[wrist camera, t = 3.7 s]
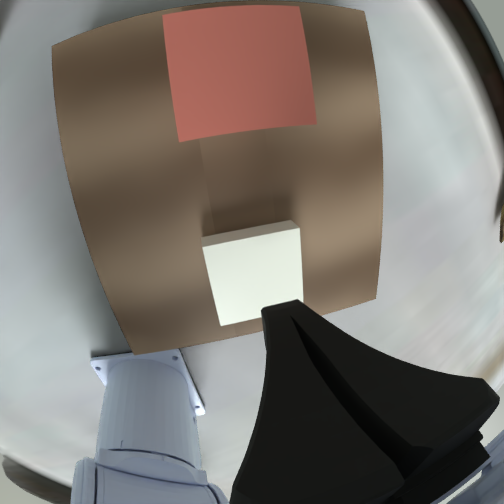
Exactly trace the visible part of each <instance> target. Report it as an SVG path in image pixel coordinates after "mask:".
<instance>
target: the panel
mask: <svg viewBox="0 0 504 504" xmlns="http://www.w3.org/2000/svg"><path fill="white" fill-rule="evenodd" d="M242 5H284V6H299V8H300V13H301V18H302V23H303V29H304V34H305V40H306V46H307V52H308V58H309V65H310V72H311V79H312V86H313V94H314V102H315V111H316V120H317V124H315V125H300V126H288V127H277V128H267V129H259V130H250V131H243V132H236V133H229V134H223V135H216V136H210V137H205V138H199V139H194V140H189V141H184V142H179V139H178V133H177V127H176V121H175V114H174V108H173V101H172V94H171V87H170V79H169V72H168V64H167V55H166V47H165V38H164V28H163V17H162V15H165V14H170V13H176V12H182V11H189V10H196V9H204V8H213V7H225V6H242ZM52 71H53V85H54V96H55V106H56V114H57V121H58V128H59V134H60V140H61V146H62V151H63V157H64V161H65V166H66V171H67V175H68V180H69V184H70V188H71V192H72V196H73V200H74V203H75V207H76V210H77V214H78V217H79V221H80V224H81V227H82V231H83V234H84V237H85V240H86V243H87V246H88V249H89V252H90V255H91V257H92V260H93V263H94V266H95V268H96V271H97V274H98V276H99V279H100V281H101V284H102V286H103V289H104V291H105V294H106V296H107V299H108V301H109V303H110V306H111V308H112V310H113V312H114V315H115V317H116V319H117V321H118V323H119V326H120V328H121V330H122V332H123V334H124V336H125V338H126V340H127V342H128V344H129V346H130V348H131V350H132V352H133V354H134V355H140V354H147V353H153V352H160V351H166V350H172V349H178V348H183V347H189V346H194V345H199V344H205V343H210V342H215V341H220V340H224V339H229V338H234V337H238V336H243V335H247V334H252V333H256V332H260V331H263V324H262V317H260V318H255V319H251V320H247V321H242V322H238V323H233V324H228V325H224V326H221V325H220V321H219V317H218V313H217V309H216V305H215V301H214V297H213V292H212V288H211V284H210V280H209V275H208V271H207V266H206V262H205V257H204V253H203V248H202V241H201V237H205V236H210V235H215V234H220V233H225V232H230V231H235V230H240V229H245V228H251V227H256V226H261V225H266V224H272V223H277V222H282V221H288V220H292V221H293V222H294V223H295V224H296V225H297V226H298V227H299V228H300V242H301V259H302V279H303V303H304V304H305V305H307V306H308V307H309V308H311V309H312V310H313V311H315V312H316V313H317V314H319V315H320V316H321V315H325V314H328V313H332V312H335V311H338V310H342V309H345V308H348V307H352V306H355V305H358V304H361V303H364V302H367V301H370V300H374V299H376V293H377V285H378V275H379V265H380V253H381V239H382V219H383V150H382V131H381V117H380V105H379V96H378V87H377V79H376V72H375V65H374V59H373V53H372V47H371V41H370V36H369V31H368V26H367V22H366V17H365V13H364V11H361V10H356V9H351V8H345V7H339V6H332V5H325V4H317V3H307V2H294V1H270V0H252V1H228V2H215V3H205V4H197V5H189V6H183V7H176V8H171V9H165V10H160V11H156V12H151V13H147V14H142V15H138V16H134V17H131V18H127V19H123V20H120V21H117V22H113V23H110V24H107V25H104V26H101V27H98V28H95V29H92V30H90V31H87V32H84V33H82V34H79V35H76V36H74V37H72V38H69V39H67V40H64V41H62V42H60V43H58V44H55V45H53V46H52Z"/></svg>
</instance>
